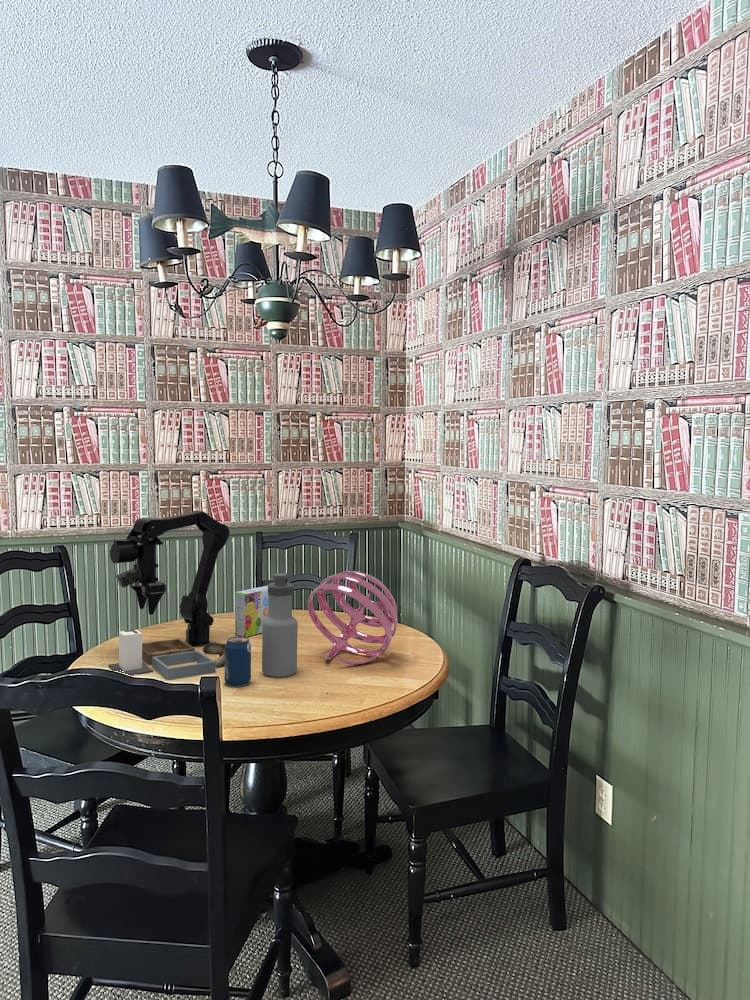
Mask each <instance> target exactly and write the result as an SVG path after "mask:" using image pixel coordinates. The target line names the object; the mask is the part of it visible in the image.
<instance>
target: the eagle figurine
mask: <svg viewBox="0 0 750 1000" xmlns="http://www.w3.org/2000/svg"><path fill="white" fill-rule="evenodd" d="M210 642H211V643H208V644H206V645H204V647H203V648H202V653H203V654H204V655H213V656H214V655H215V656H216V655H219V656H218V657H217V658H215V659H213V660H214V661H215V662H216V668H219V667H221V666H223V665H225V644H226V643H219V642H217V641H210Z"/></svg>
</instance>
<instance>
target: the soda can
mask: <svg viewBox="0 0 750 1000" xmlns="http://www.w3.org/2000/svg"><path fill="white" fill-rule="evenodd" d="M224 644H225V663H224V681H225V683H226V685H227V684H228V685H227V686H229V685H230V686H229V687H233V686H236V688H238V687H237V686H240V687H244V686H247V685H249V683H250V681H251V679H252V644H251V642H250V638H249V637H242V636H231V637H229V638H227V640H226V643H224Z"/></svg>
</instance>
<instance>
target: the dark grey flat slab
mask: <svg viewBox="0 0 750 1000" xmlns="http://www.w3.org/2000/svg"><path fill="white" fill-rule="evenodd" d="M107 666H108V668H110V669H111V670H112V671H113V670H114V671H118V672H121V673H125V674H128V675H132V676H135V675H134V674H139V675H145V674H150V672H152V673H153V672H154V669H152V667H151V668H150V667H149V666H148V664H147V663H145V662H144V661H142V668H141V669H135V670H128V671H124V672H122V671H123V670H122V669H121V668H120V667H119V662H117V663H111V664H108V665H107ZM120 670H121V671H120ZM114 671H113V672H114ZM144 673H145V674H144Z"/></svg>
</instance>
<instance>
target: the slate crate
mask: <svg viewBox="0 0 750 1000" xmlns="http://www.w3.org/2000/svg"><path fill="white" fill-rule="evenodd" d="M214 660H215V659H212V658H211V657H209V656H207V654H204V652H201V651H199V649H198V650H195V651H190V652H183V653H176V654H169V655H162V656H155V657H152V665H151V668H152V667H153V668H154V669H153V670H155V671H156V672H157V673H158V672H159V673H158V674H160V675H161V676H162V677H163V678H165V680H168V681H169V680H176V679H182V678H183V679H184V678H188V677H189V678H191V677H195V676H201V674H202V675H207V674H208V675H209V674H214V673H216V671H217V667H216V662H215V661H214ZM195 661H197V662H195ZM182 663H183V664H186V665H181V664H182ZM188 663H193V664H188ZM175 665H179V666H175ZM170 666H174V667H170ZM213 672H214V673H213Z"/></svg>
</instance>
